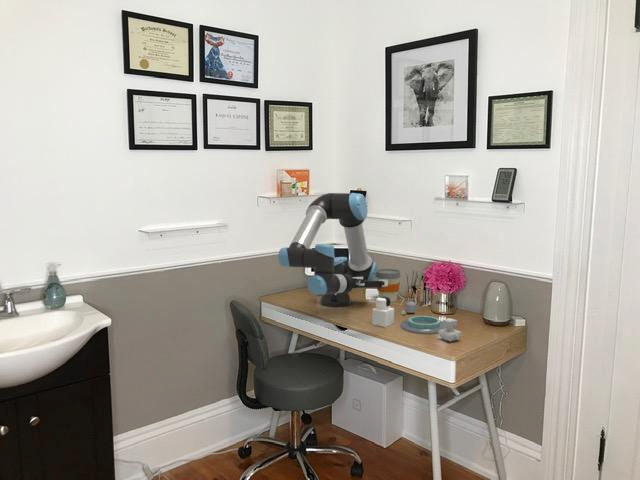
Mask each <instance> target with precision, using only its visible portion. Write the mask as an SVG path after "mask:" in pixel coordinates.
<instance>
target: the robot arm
mask: <svg viewBox="0 0 640 480" xmlns="http://www.w3.org/2000/svg"><path fill="white" fill-rule="evenodd" d="M367 216H368V202H367V199H366V197H365V196H364V194H362V193H358V192H357V193H355V192H351V193H347V192H346V193H345V192H342V193H341V192H329V193H324V194H322V195H320V196H318V197H317V198H315V199H314V200H313V201H312V202H311V203H310V204H309V205H308V207H307V209H306V211H305V217H304V219H303V221H302V222H301V224H300V226H299V228H298V230H297V232H296V233H295V235H294V237H293V239H292V240H291V242H290V244H289V247H286V246H285V247H281V248H280V249H279V251H278V254H277V255H278V257H277V259H278V263H279V265H280V266H282V267H288V268H305V269H307V268H308V269H314V270H313V271H314V275H312V276H310V277H309V278H308V279H309V280H307V288H308V290H309V292H310V293H311V294H312V295H315V296H316V295H317V296H318V295H319V296H321V297H320V305H322V306H324V307H332V308H333V307H334V308H336V307H337V308H340V307H341V308H342V307H347V306H350V305H351V297H350V292H351V291H352V290H353V289H357V288H358V289H359V288H360V289H362V288H363V289H364V288H377V287H378V289H379V287H380V288H381V287H382V286H388V280H387V279H386V280H377V279H376V278H377V277H376V272H377V270H378V269H377V268H378V267H377V266H378V263H377V262H376V261H373V259H372V258H371V256H370V255H369V254H368V249H367V243H366V238H365V232H364V231H365V230H364V227H363V226H364V225H363V223H364V222H365V220H366V219H367ZM327 220H338V221H339V225H340V226H342V227H343V230H344V234H345V240H346V245H347V249H348V254H349V260H348V257H347V256H338V257H337V256H336V257H335V246H334V245H333V244H328V243H327V244H324V243H321V244H320V243H316V244H315V245H314V248H310V247H311V245H312V243H313V241H314V239H315V237H316V235H317V234H318V232H319V229H320V227H321V226H322V224H324V223H325V222H326V221H327Z"/></svg>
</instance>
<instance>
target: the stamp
mask: <svg viewBox="0 0 640 480" xmlns="http://www.w3.org/2000/svg"><path fill="white" fill-rule="evenodd" d="M442 322H443V323H444V325H446V326H447V329H442V330H439V331H438V334H437V335H438V336H439V337H440V339H442V340H445V341H447V342H453V341H457V340H459V339H460V337H461V336H462V335H463V334H462V331H460V330H457V329H456V328H454V327H456V326H457V325H458V320H457V319H454V318H450V317H449V318H444V319H442Z"/></svg>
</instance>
